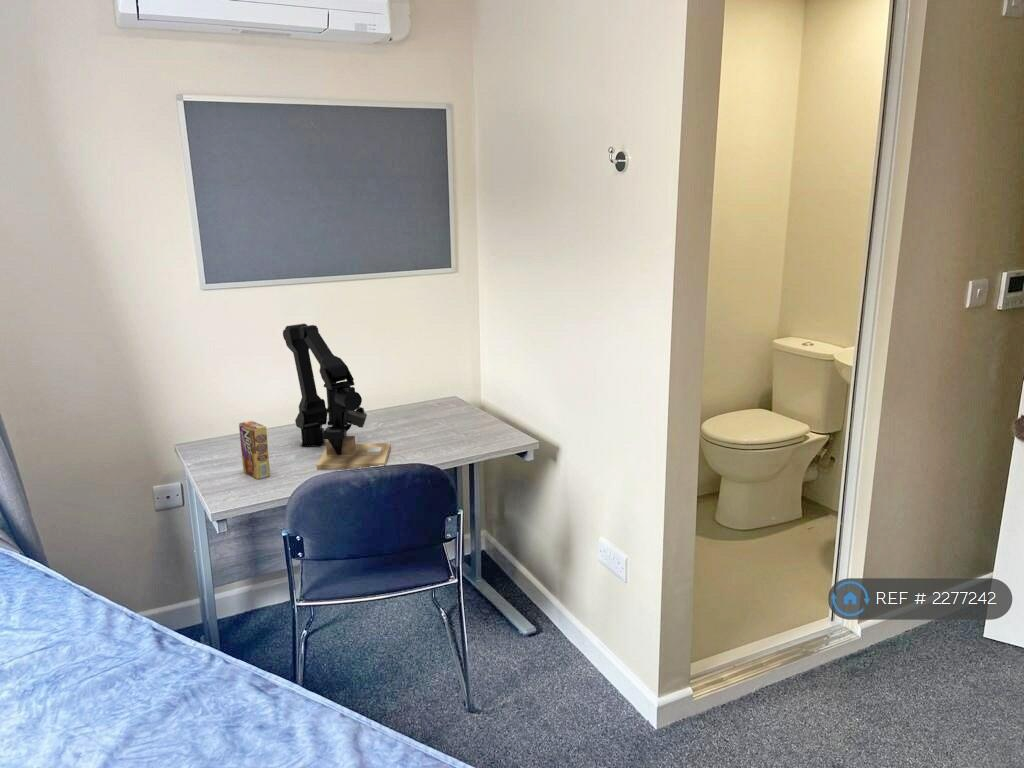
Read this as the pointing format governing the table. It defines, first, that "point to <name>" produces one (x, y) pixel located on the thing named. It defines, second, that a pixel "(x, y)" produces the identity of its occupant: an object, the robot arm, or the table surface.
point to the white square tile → (374, 450)
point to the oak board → (356, 458)
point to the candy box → (254, 449)
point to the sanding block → (347, 448)
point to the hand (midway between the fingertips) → (340, 451)
